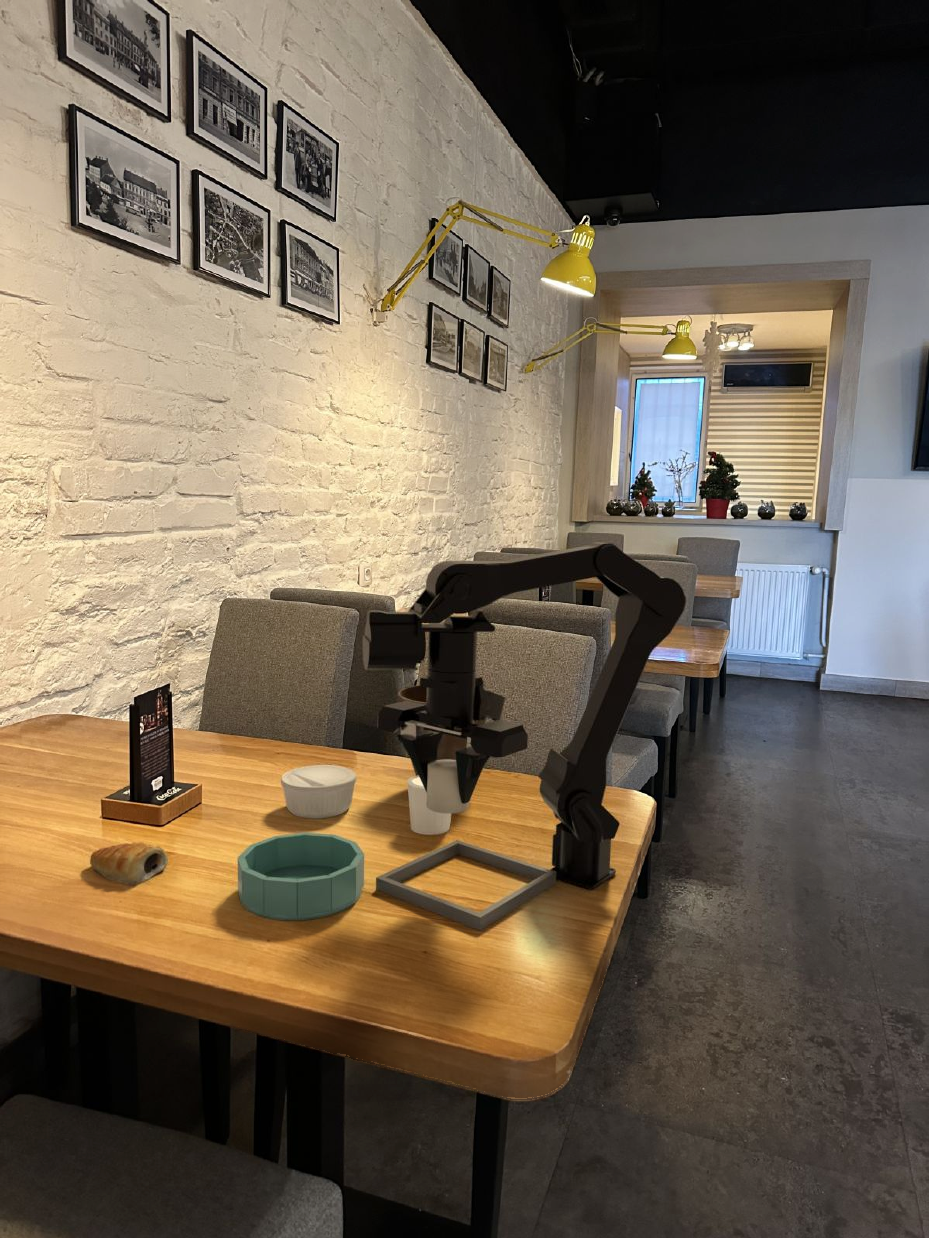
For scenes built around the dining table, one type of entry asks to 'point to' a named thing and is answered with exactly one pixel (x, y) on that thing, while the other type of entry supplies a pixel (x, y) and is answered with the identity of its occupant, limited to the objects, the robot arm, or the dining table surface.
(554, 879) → the gray square frame
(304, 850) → the bowl
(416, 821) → the white cup
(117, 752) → the dining table surface
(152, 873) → the pastry
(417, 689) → the plant pot
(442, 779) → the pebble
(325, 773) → the ramekin
